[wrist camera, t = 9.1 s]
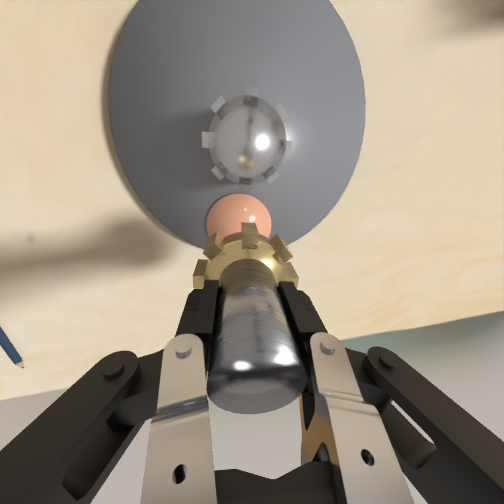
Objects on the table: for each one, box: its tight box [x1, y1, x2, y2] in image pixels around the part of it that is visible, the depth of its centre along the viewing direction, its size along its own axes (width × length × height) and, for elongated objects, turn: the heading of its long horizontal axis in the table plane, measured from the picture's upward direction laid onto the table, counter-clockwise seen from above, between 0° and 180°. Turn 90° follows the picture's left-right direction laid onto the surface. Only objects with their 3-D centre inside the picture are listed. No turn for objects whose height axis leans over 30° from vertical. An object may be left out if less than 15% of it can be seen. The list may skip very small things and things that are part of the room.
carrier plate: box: [109, 0, 366, 248], centre depth 16 cm, size 22×22×6 cm
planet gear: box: [193, 222, 307, 414], centre depth 10 cm, size 6×6×8 cm
